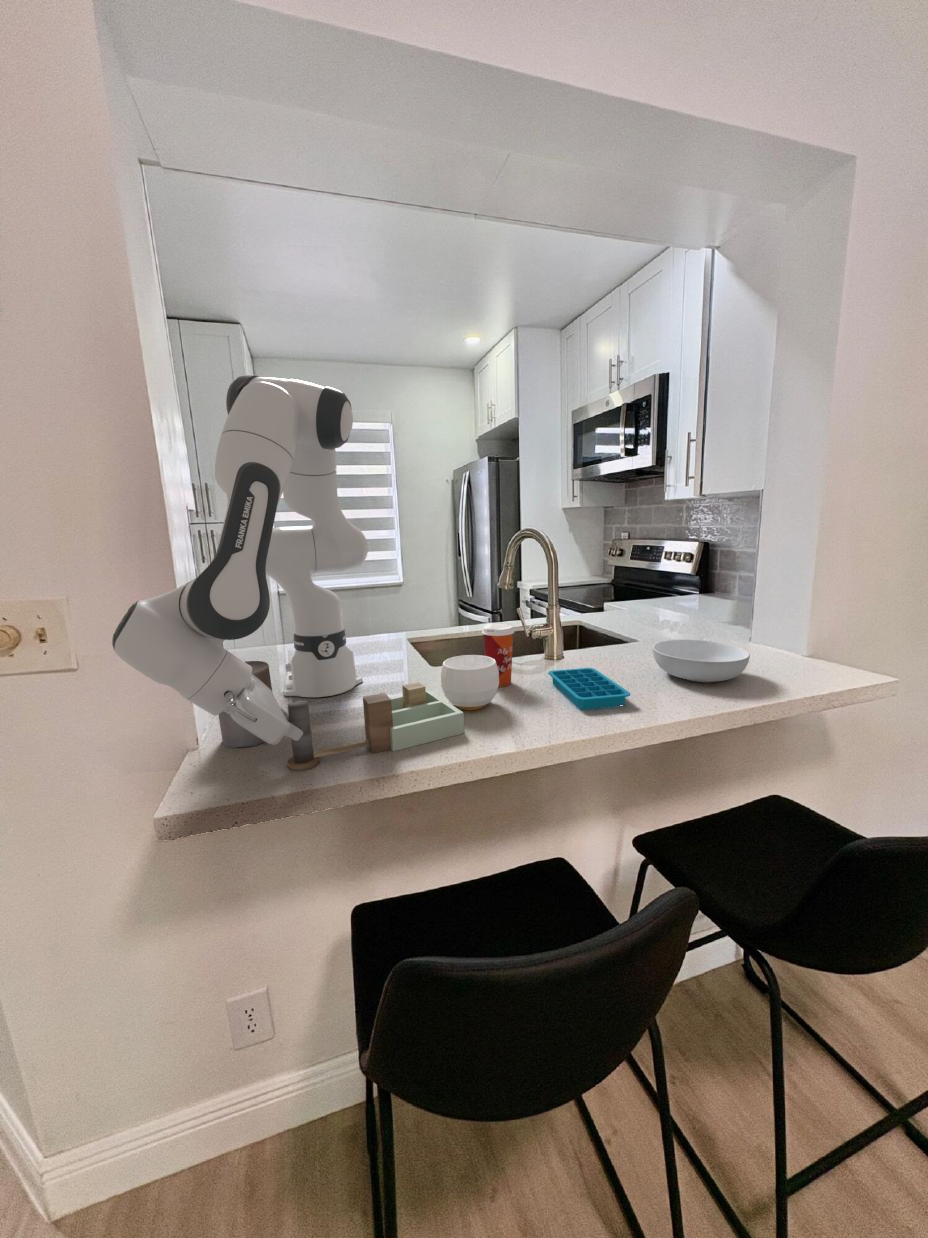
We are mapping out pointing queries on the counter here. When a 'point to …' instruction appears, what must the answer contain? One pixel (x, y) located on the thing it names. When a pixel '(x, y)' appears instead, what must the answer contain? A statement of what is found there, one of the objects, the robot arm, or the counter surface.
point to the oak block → (413, 694)
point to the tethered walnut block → (376, 740)
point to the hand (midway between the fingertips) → (297, 730)
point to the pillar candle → (233, 731)
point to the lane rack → (424, 721)
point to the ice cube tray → (588, 688)
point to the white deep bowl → (470, 680)
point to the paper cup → (500, 649)
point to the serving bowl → (700, 659)
